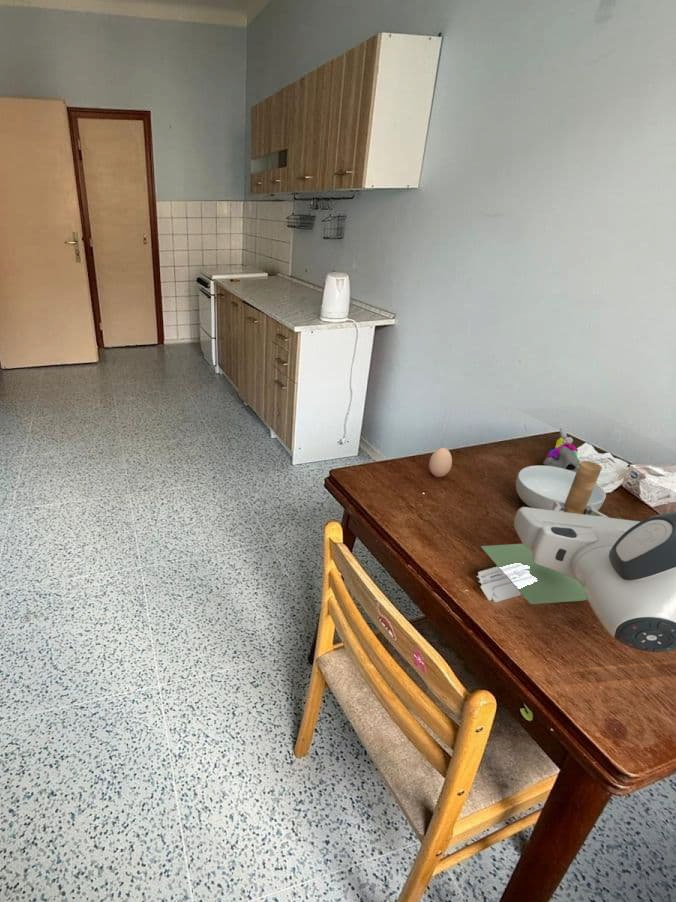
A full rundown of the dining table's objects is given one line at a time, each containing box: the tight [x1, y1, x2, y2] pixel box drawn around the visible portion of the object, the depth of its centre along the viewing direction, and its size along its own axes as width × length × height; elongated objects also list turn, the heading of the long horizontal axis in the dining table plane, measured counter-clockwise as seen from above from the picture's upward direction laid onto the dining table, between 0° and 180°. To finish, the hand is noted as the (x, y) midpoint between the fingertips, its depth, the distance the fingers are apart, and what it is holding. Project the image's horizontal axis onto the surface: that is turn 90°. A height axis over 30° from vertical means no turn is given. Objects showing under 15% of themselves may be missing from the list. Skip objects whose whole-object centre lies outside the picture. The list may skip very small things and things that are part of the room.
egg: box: [428, 447, 453, 478], centre depth 121 cm, size 5×5×8 cm
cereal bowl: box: [515, 465, 607, 512], centre depth 108 cm, size 17×17×7 cm
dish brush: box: [565, 460, 603, 514], centre depth 83 cm, size 6×6×20 cm
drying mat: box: [480, 543, 588, 605], centre depth 91 cm, size 18×16×1 cm
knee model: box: [542, 427, 581, 472], centre depth 127 cm, size 9×8×25 cm
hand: (571, 506), depth 83 cm, fingers closed on dish brush, 3 cm apart
